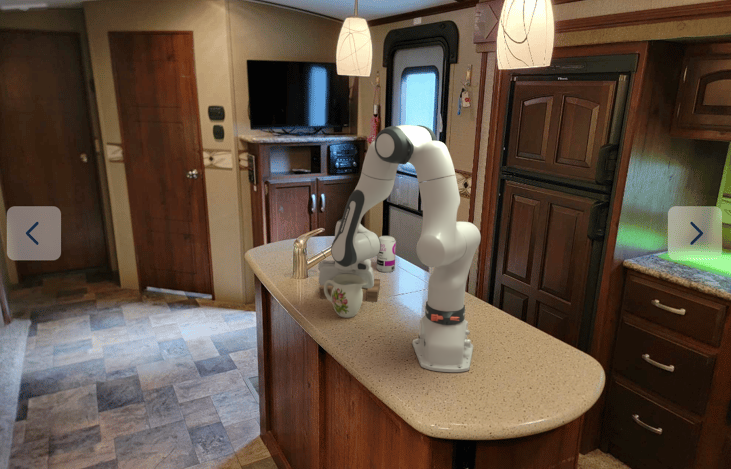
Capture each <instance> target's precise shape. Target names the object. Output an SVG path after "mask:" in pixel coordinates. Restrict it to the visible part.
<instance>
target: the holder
mask: <svg viewBox="0 0 731 469" xmlns="http://www.w3.org/2000/svg"><path fill="white" fill-rule="evenodd" d="M320 286H321V287H320V288H319V289H320V290H319V299H322V300H328V299H327V297H326V296H325V293H324V285H320ZM333 287H334V286H327V290H328V294H329V295H330V296H331V298H332V290H333ZM380 288H381V279H379V278H374V286H373V287H372V288H362V290H366V302H373V303H374V302H375V303H376V302H377V303H378V299H379V294H380V290H381V289H380Z"/></svg>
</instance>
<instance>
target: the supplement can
mask: <svg viewBox="0 0 731 469" xmlns="http://www.w3.org/2000/svg"><path fill="white" fill-rule="evenodd" d="M378 237H379V239H380V242H381V249H380V252H379V254H378V255H377V256H376V269H377V270H378V271H379V272H381V273H392V272H393V271H394V270H395V269H396V252H397V251H396V247H397V241H396V239H395V237H393V236H391V235H381V236H378Z"/></svg>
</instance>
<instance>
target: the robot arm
mask: <svg viewBox="0 0 731 469" xmlns="http://www.w3.org/2000/svg"><path fill="white" fill-rule="evenodd" d="M406 164H410V165H412V166H413V167H414V169H415V173H416V178H417V183H418V188H419V193H420V199H421V204H422V205H421V206H422V224H421V225H422V227H421V232H420V237H419V238H418V240H417V243H416V247H415V248H416V249H415V251H416V254H417V257H418V259H419V261H420V262H421V263H422V264H423V265H424V266H426V267H428V268H433V270H432V273H431V274H430V275H429V279H428V284H427V285H428V286H427V288H428V289H427V300H426V302H425V306H424V310H425V311H424V312H425V313H424V314H425V315H424V316H422V317H421V318H420V319H419V330H418V338H415V339H413V340H412V344H411V345H412V347H413V350H414V352H415V354H416V357H417V360H418V363H419V366H420V367H421V368H424V369H426V370H430V371H434V372H441V373H443V372H444V373H463V372H467V371H469V370H470V369H471V364H472V357H473V352H474V344H473V343H471V341H472V340H471V339H469V338H468V336H470V332H471V331H470V330H469V328H468V326H469V321H468V320H466V319H465V318H466V316H465V315H466V305H465V297H466V296H465V295H466V287H467V286H466V285H467V279H468V277H469V273H470V270H471V269H470V268H471V265H472V263H473V260H474V259H473V258H474V256H475V253H476V251H477V249H478V247H479V246H480V244H481V238H482V236H481V232H480V230H479V228H478V227H477V226H476V225H475V224H474V223H472V222H469V221H457V219H458V218H457V217H458V211H459V208H460V207H459V206H461V196H460V195H461V194H460V190H459V185H458V180H457V175H456V172H455V166H454V163H453V159H452V157H451V153H450V152H449V149H448V147H447V145H446V144H445V143H444V142H442V141H439V140H437V135H436V134H435V133H434V131H433V130H432V129H431V128H429V127H428V126H424V125H409V124H400V125H392V126H391V125H390V126H388V127H385V128H383V129H382V130H380V131H379V132H378V133H377V135H376V136H375V138H374V141H372V142H371V143H370V145H369V146H368V148H367V150H366V154H365V157H364V160H363V164H362V169H361V173H360V177H359V180H358V182H357V185H356V186H355V189H354V190H353V191H352V192H351V194H350V195H349V197H348V199H347V202H346V205H345V208H344V212H343V215H342V218H341V219H339V220H338V221H337V222H336V225H335V230H334V239H333V240H332V241H333V242H332V243H331V247H330V248H331V249H330V254H331V258H332V259H333V260H326V259H323V260H321V261H319V262H318V265H317V266H318V267H317V269H318V271H319V274H318V284H319V285H320V286H322V285H324V284H325V282H326V281H327V280H333V278H334V277H335V276H337V275H340V274H354V275H358V276H360V277H362V279H363V280H365V281H367V282H368V283H367V284H366V285H364V286H362V288H372V287H373V286H374V279H375V274H374V270H373V267H372V261H371V259H373V258H376V257H377V255H378V254H379V252H380V249H381V242H380V239H379V237H380V236H378V234H377V233H376V232H374V231H372V230H370V229H368V228H366V227H364V225H363V224H361V221H362V218H363V217H364V215H365V214H366V213H367V212H368V211H369V210H371V209H372V208H373V207H375V206H377V205H378V204H379V203H382V202H383V201H385V200H386V199H387V198H389V196H390V195H391V193H392V191H393V188H394V187H395V186H394V185H395V182H396V181H395V180H396V176H397V170H398V166H399V165H406ZM351 284H352V283H346V284H344V285H351ZM328 286H333V285H332V284H330V283H329V284H328Z"/></svg>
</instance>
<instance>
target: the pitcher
mask: <svg viewBox="0 0 731 469" xmlns="http://www.w3.org/2000/svg"><path fill="white" fill-rule="evenodd" d="M329 283H330V284H332V285H333V286H334V287H333V290H332V297H331V296H330V295H329V294H328V290H327V286H328V284H329ZM346 283H352V284H351V285H344V284H346ZM367 283H368V282H367V281H365V280H363V279H362V277H360V276H358V275H354V274H340V275H337V276H335V277H334V278H333V280H327V281H326V282H325V284H324V293H325V296H326V297H327V299H326V300H328V301H329V302H330V303H332V306H333V309H334V311H335V313H336V314H337V315H338V316H339V317H341V318H346V319H347V318H353V317H355V316H356V315H357V314H358V313H359V311H360V309H361V308H362V303H363V300H364V299H363V298H364V296H363V294H364V293H363V289H362V286H364V285H366V284H367Z"/></svg>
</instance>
